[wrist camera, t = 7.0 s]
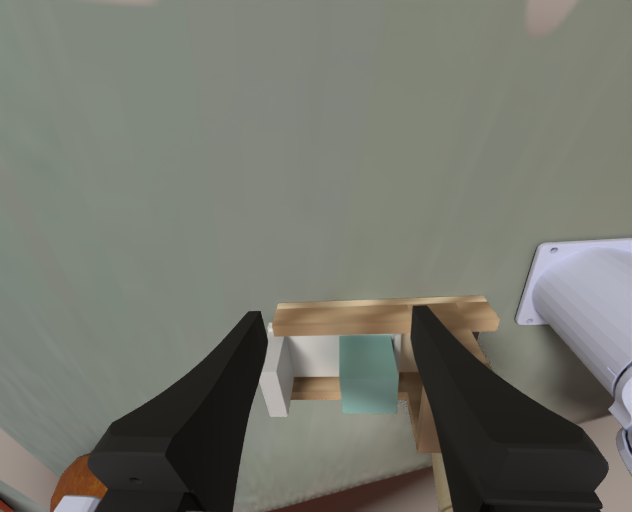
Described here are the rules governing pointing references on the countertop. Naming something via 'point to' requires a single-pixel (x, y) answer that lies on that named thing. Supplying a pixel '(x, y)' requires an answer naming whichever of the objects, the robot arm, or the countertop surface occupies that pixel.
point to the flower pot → (441, 484)
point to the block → (367, 374)
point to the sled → (301, 364)
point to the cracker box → (5, 507)
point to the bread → (77, 482)
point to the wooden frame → (386, 318)
